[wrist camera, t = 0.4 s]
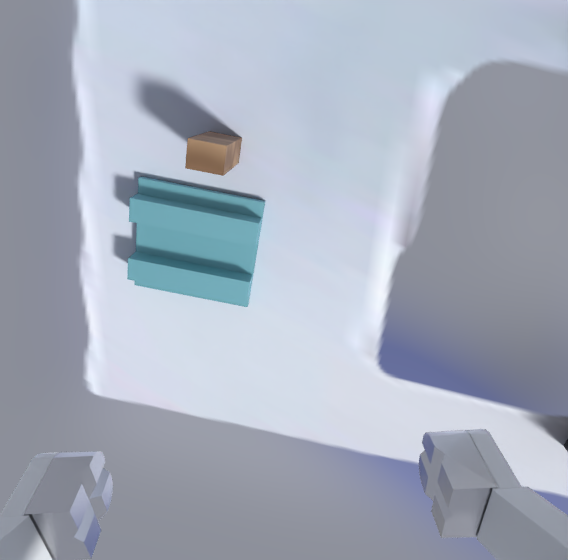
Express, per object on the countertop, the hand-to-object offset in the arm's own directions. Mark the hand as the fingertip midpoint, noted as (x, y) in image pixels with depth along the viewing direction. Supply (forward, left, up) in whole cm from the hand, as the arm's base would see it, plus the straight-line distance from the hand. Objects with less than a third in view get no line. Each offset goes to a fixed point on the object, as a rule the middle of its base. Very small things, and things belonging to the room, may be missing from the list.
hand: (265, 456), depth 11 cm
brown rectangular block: (-1, -11, -45) cm, 46 cm away
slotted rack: (+12, -13, -45) cm, 48 cm away
